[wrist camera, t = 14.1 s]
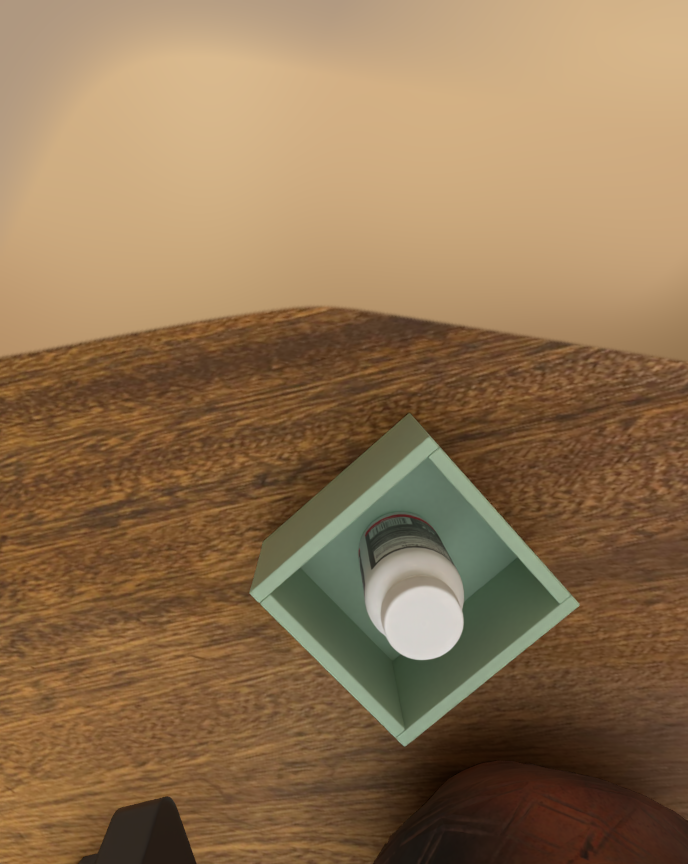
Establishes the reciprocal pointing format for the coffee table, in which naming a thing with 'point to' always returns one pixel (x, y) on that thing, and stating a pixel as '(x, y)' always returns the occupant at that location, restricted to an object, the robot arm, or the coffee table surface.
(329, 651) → the bin
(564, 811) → the bowl
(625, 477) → the coffee table surface
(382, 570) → the pill bottle
